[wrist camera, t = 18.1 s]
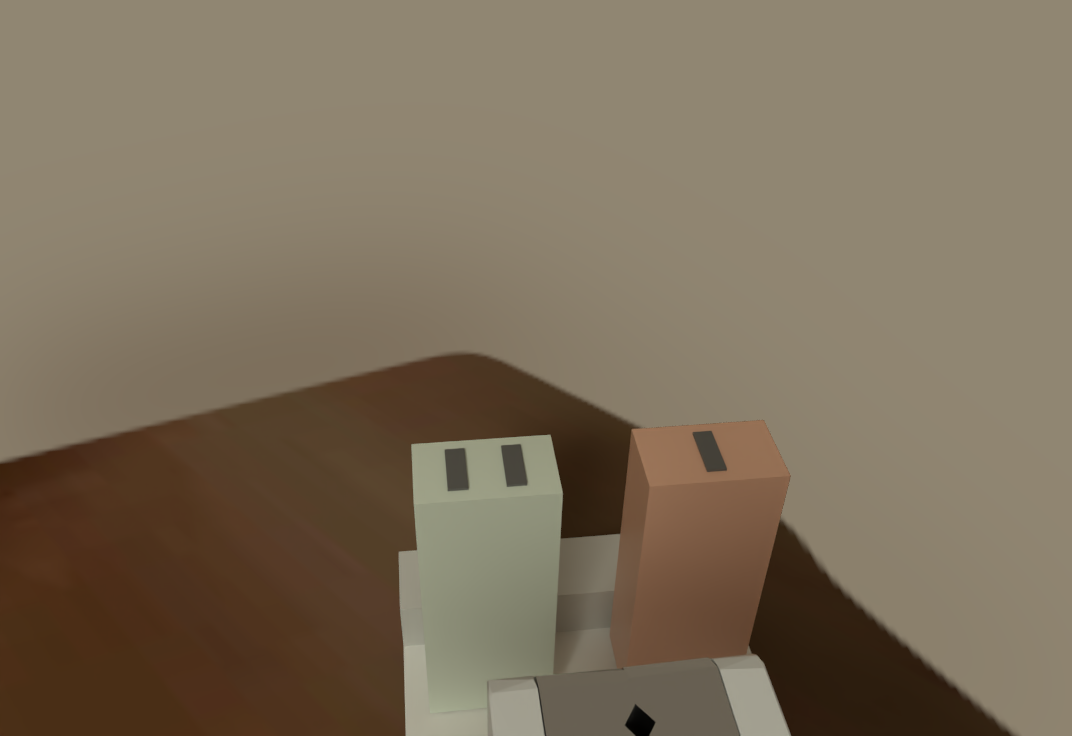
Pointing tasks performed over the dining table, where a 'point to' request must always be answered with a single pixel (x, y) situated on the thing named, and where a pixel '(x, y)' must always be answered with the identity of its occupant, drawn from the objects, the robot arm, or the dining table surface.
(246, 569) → the dining table surface
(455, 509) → the pale green tall block
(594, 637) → the tile board
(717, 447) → the orange-brown upright block
